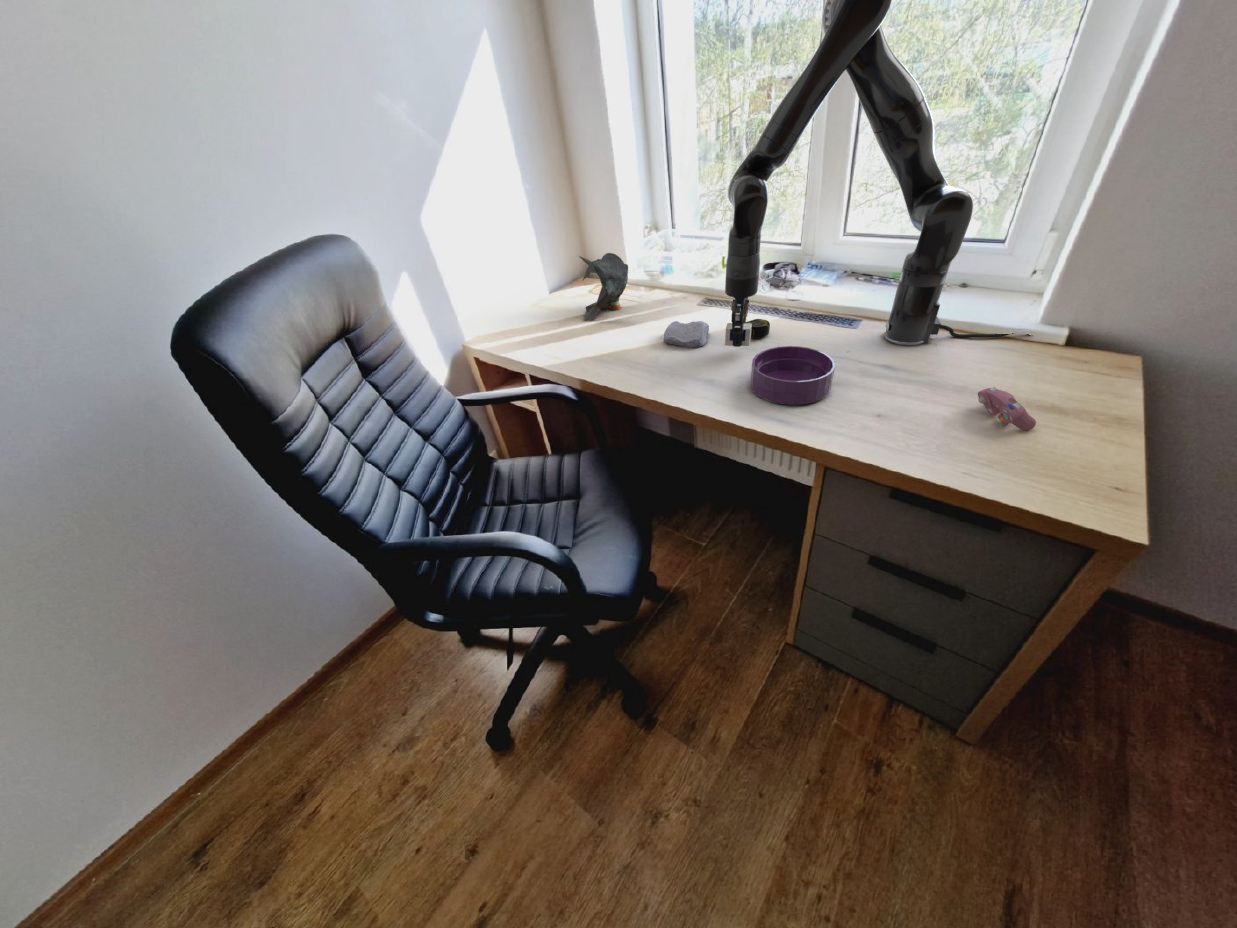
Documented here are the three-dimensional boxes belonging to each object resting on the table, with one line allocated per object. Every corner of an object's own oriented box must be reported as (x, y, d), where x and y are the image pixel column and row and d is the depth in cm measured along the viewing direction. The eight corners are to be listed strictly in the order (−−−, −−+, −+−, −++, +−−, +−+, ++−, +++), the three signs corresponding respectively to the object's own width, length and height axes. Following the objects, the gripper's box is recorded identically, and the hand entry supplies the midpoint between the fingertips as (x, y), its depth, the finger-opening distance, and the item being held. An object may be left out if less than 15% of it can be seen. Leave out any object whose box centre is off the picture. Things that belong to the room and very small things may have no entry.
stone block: (703, 354, 126) (710, 332, 132) (702, 339, 123) (709, 317, 129) (661, 353, 131) (670, 332, 136) (659, 338, 127) (668, 317, 133)
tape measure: (758, 328, 132) (759, 315, 129) (774, 336, 127) (775, 323, 124) (738, 334, 130) (738, 321, 128) (753, 342, 125) (754, 329, 123)
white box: (750, 340, 120) (751, 323, 117) (749, 346, 117) (750, 329, 114) (726, 339, 121) (727, 322, 119) (724, 345, 119) (725, 328, 116)
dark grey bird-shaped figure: (631, 316, 149) (626, 257, 138) (584, 321, 150) (575, 262, 139) (631, 301, 160) (626, 245, 149) (587, 305, 161) (579, 250, 150)
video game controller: (975, 412, 93) (970, 387, 89) (999, 401, 92) (996, 374, 88) (1012, 441, 85) (1009, 414, 82) (1039, 428, 84) (1037, 401, 80)
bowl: (828, 371, 109) (833, 347, 105) (831, 409, 97) (836, 384, 93) (753, 368, 114) (755, 345, 110) (747, 404, 102) (749, 379, 98)
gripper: (756, 282, 102) (750, 355, 113) (761, 263, 112) (755, 331, 123) (722, 283, 104) (719, 354, 115) (729, 264, 115) (726, 330, 125)
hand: (738, 342), depth 119 cm, fingers closed on white box, 3 cm apart
